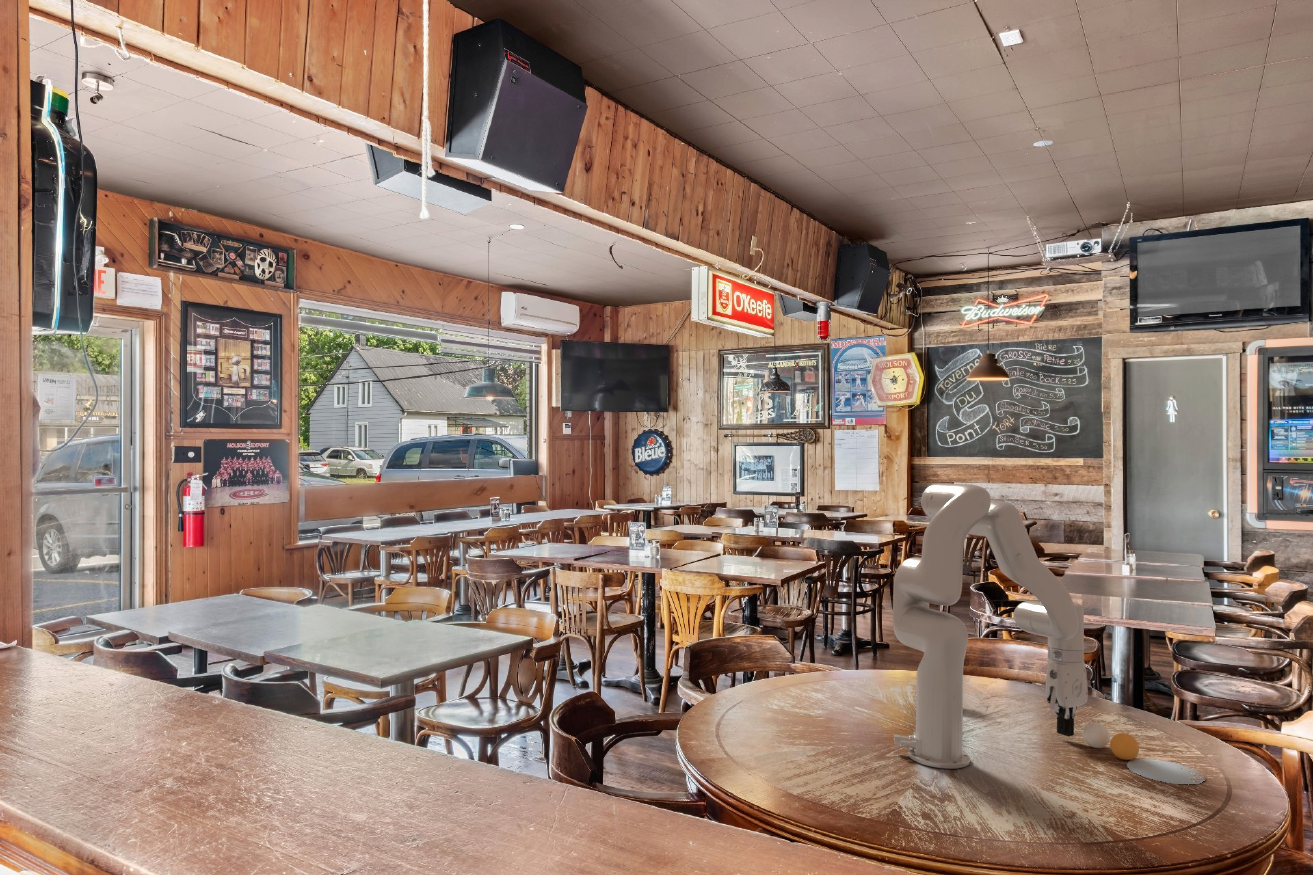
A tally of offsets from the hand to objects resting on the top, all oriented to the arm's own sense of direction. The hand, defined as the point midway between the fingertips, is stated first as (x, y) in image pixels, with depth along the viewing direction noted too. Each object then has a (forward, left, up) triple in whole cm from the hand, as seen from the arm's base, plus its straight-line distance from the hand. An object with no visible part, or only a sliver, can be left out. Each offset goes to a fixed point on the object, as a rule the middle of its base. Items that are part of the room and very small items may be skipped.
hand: (1065, 734), depth 191 cm
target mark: (+16, -16, -2) cm, 22 cm away
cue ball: (+6, -3, +1) cm, 7 cm away
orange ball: (+10, -10, +1) cm, 14 cm away
